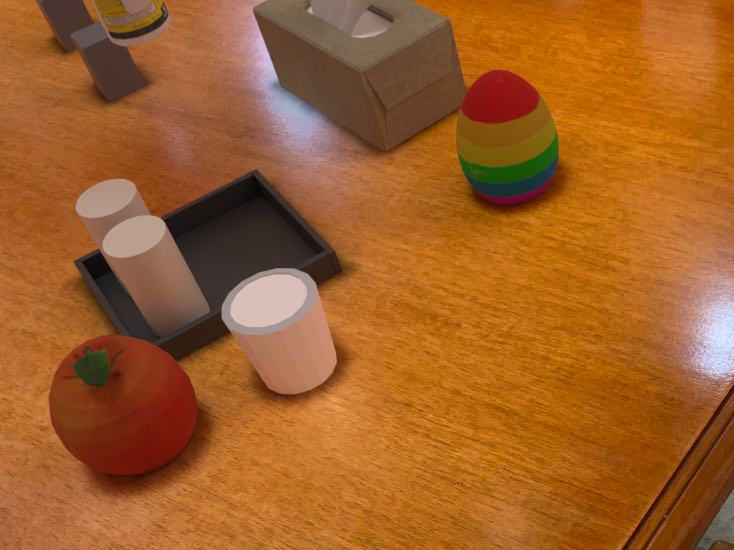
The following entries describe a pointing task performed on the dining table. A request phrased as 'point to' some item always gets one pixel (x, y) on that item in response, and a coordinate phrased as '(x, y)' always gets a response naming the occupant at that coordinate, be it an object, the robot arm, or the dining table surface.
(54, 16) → the grey block left
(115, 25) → the supplement bottle
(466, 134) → the decorative egg
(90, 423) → the fruit
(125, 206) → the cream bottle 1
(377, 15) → the tissue box
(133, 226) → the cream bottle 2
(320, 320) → the white cup
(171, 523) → the dining table surface
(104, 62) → the grey block right
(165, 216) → the tray
